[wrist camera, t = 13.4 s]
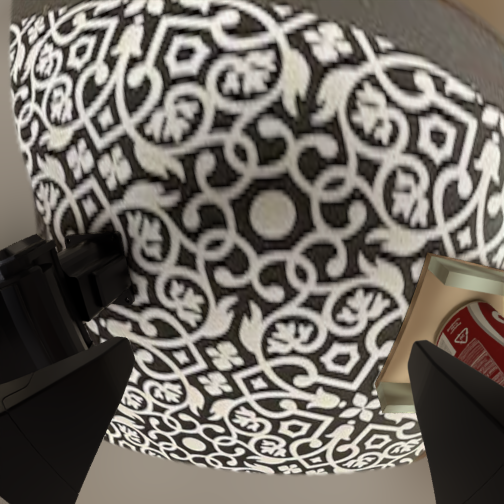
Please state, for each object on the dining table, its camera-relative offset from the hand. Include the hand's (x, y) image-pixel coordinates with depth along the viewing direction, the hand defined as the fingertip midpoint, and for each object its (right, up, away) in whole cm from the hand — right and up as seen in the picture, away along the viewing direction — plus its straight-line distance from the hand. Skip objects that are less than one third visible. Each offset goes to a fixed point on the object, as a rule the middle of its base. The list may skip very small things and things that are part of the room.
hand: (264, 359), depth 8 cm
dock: (+18, -4, +13) cm, 22 cm away
